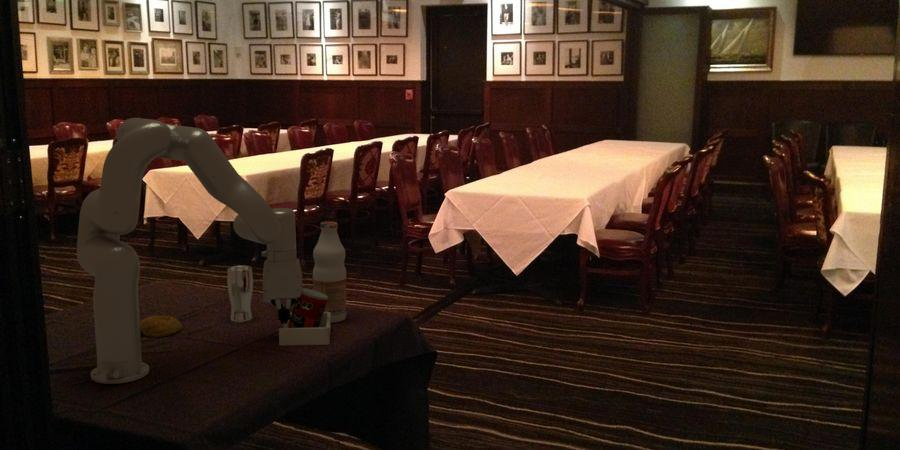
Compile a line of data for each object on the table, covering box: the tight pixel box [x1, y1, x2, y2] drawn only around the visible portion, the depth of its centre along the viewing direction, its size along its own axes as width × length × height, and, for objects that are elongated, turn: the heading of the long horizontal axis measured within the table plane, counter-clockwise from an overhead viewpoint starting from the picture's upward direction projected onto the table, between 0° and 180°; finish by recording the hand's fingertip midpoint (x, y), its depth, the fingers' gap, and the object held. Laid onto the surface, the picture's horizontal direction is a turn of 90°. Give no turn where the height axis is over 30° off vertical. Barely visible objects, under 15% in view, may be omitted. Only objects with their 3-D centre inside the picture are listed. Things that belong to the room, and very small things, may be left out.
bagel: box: [140, 315, 183, 338], centre depth 220 cm, size 10×11×5 cm
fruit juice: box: [312, 221, 347, 324], centre depth 233 cm, size 9×9×28 cm
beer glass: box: [226, 265, 254, 323], centre depth 232 cm, size 7×7×15 cm
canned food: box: [288, 287, 328, 328], centre depth 219 cm, size 8×8×11 cm
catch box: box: [278, 312, 332, 347], centre depth 219 cm, size 15×13×4 cm
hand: (284, 322), depth 218 cm, fingers closed
